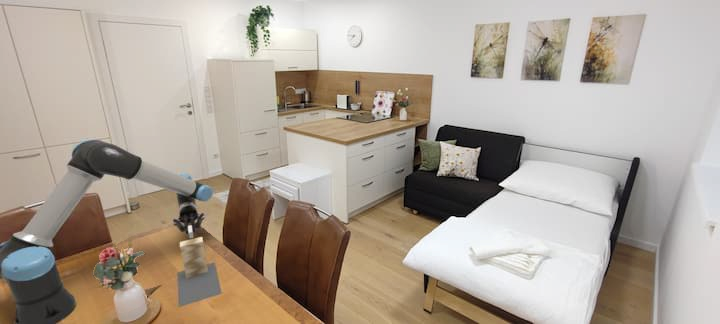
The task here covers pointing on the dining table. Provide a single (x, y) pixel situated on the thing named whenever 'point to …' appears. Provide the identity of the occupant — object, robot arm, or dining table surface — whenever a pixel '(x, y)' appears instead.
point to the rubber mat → (198, 286)
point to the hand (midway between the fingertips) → (191, 235)
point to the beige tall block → (193, 257)
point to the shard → (151, 290)
